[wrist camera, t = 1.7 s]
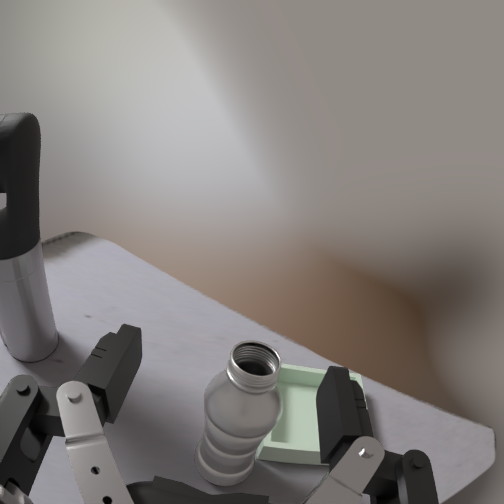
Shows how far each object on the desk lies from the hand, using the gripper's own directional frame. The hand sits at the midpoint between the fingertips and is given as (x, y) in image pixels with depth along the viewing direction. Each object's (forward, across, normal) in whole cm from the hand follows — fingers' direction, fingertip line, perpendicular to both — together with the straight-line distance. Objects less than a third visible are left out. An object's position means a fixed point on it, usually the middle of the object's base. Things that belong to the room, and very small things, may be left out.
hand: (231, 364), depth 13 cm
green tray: (+16, -13, +26) cm, 33 cm away
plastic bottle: (+8, -2, +26) cm, 27 cm away
